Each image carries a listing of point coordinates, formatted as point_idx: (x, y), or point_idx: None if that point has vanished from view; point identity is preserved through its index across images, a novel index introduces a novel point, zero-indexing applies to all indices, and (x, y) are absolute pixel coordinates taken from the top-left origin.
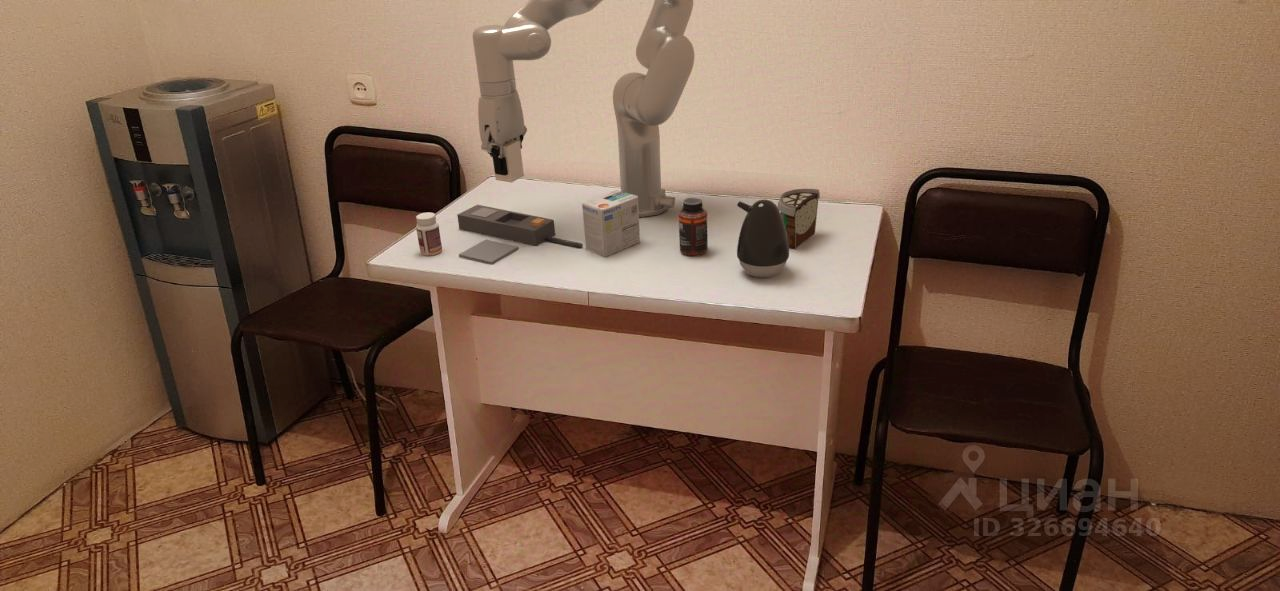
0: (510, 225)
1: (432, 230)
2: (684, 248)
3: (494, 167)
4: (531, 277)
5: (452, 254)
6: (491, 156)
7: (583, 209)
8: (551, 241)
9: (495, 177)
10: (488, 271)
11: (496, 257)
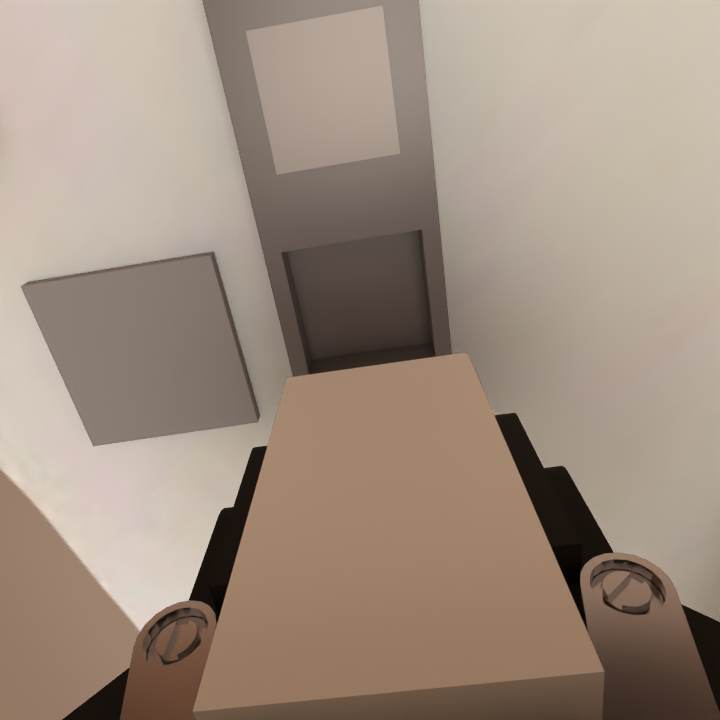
0: (292, 368)
1: None
2: None
3: (244, 485)
4: (145, 587)
5: (16, 233)
6: (154, 632)
7: None
8: None
9: (283, 391)
10: (58, 467)
11: (130, 431)
